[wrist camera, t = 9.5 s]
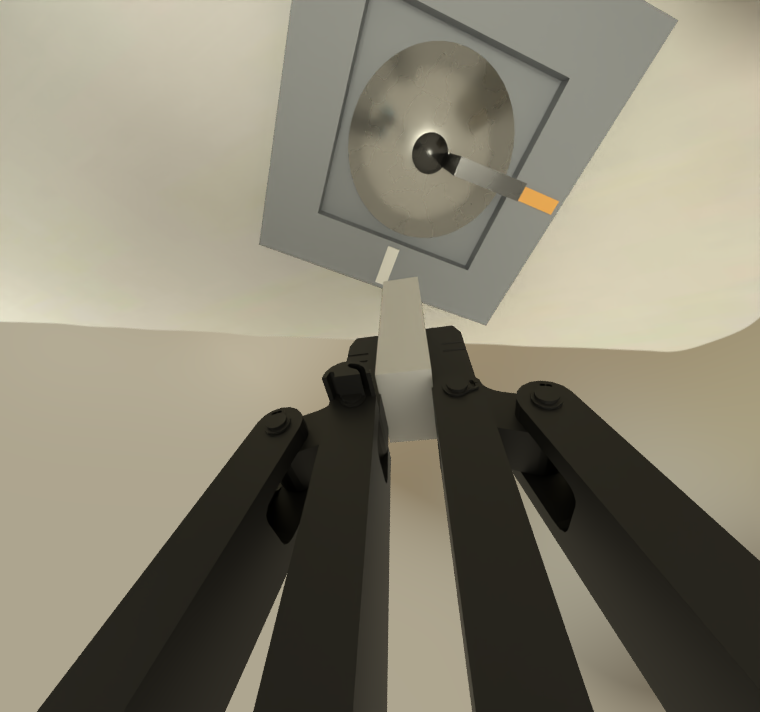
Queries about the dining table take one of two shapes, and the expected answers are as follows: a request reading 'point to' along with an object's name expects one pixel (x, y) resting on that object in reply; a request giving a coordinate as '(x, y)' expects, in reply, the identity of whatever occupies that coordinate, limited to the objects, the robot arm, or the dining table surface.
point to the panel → (531, 124)
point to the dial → (432, 140)
